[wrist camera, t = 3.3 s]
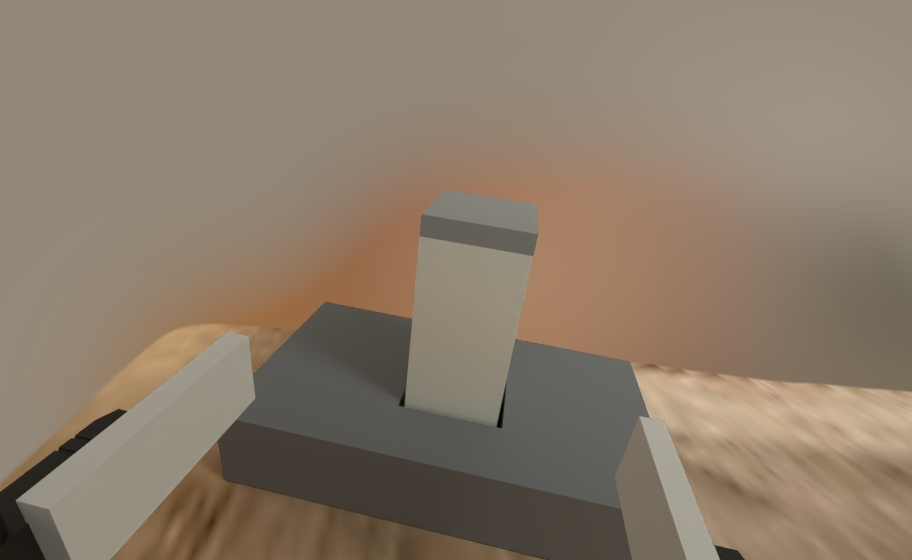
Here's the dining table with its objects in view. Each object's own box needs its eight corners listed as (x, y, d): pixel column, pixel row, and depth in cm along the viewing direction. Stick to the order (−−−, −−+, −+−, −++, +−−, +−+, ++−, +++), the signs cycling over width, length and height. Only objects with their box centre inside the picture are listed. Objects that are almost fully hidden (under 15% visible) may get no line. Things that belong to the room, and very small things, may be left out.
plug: (494, 409, 28) (537, 204, 22) (486, 470, 24) (538, 234, 18) (421, 393, 29) (444, 189, 23) (400, 450, 24) (421, 214, 18)
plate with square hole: (611, 411, 31) (629, 361, 29) (652, 585, 20) (686, 524, 18) (325, 352, 33) (325, 301, 31) (224, 479, 22) (213, 414, 20)
